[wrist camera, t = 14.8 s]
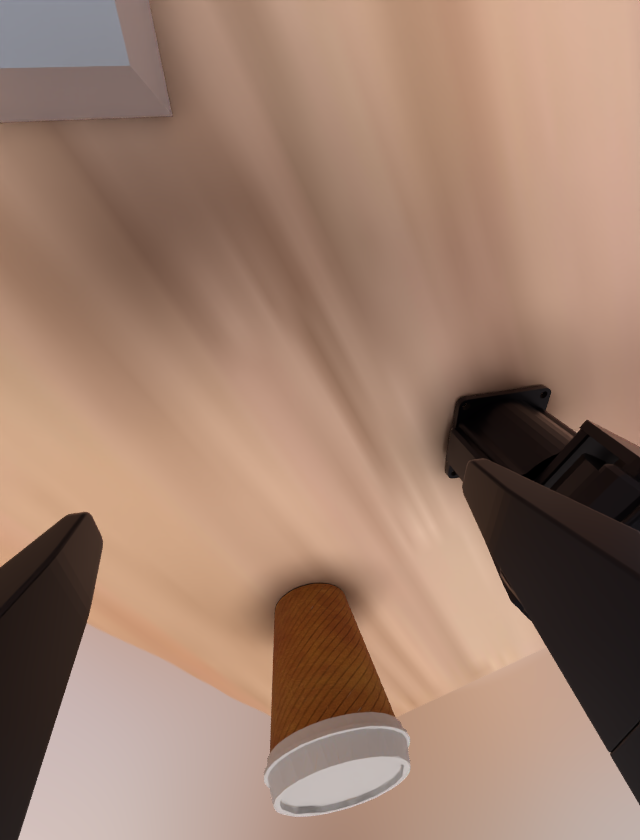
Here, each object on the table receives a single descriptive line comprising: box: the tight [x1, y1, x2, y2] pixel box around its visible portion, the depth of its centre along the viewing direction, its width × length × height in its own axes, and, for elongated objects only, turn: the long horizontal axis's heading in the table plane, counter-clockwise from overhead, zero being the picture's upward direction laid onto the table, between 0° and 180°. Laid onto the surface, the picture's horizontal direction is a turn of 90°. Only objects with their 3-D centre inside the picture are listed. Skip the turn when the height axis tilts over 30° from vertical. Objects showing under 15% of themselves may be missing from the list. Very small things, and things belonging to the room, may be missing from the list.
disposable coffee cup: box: [264, 584, 410, 816], centre depth 28 cm, size 10×10×12 cm
